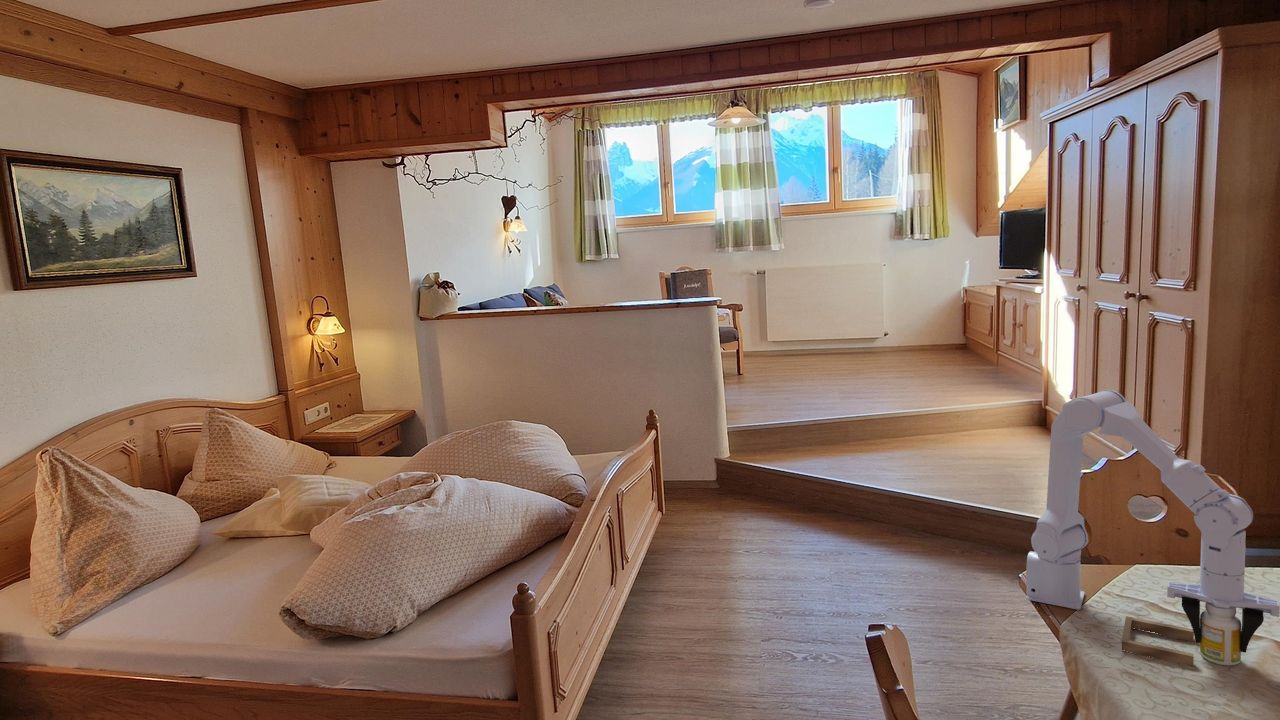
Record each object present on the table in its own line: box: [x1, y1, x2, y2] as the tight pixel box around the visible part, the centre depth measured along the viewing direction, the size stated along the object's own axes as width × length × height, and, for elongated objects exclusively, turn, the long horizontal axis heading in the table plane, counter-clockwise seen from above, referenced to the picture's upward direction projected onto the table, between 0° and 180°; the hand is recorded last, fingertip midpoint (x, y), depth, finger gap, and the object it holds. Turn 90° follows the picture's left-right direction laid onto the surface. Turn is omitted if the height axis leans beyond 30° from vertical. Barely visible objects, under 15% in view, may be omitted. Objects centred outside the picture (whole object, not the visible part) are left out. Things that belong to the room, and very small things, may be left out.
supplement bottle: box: [1199, 602, 1242, 666], centre depth 120 cm, size 5×5×10 cm
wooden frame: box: [1121, 615, 1195, 667], centre depth 126 cm, size 10×10×2 cm
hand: (1219, 644), depth 121 cm, fingers closed on supplement bottle, 5 cm apart
